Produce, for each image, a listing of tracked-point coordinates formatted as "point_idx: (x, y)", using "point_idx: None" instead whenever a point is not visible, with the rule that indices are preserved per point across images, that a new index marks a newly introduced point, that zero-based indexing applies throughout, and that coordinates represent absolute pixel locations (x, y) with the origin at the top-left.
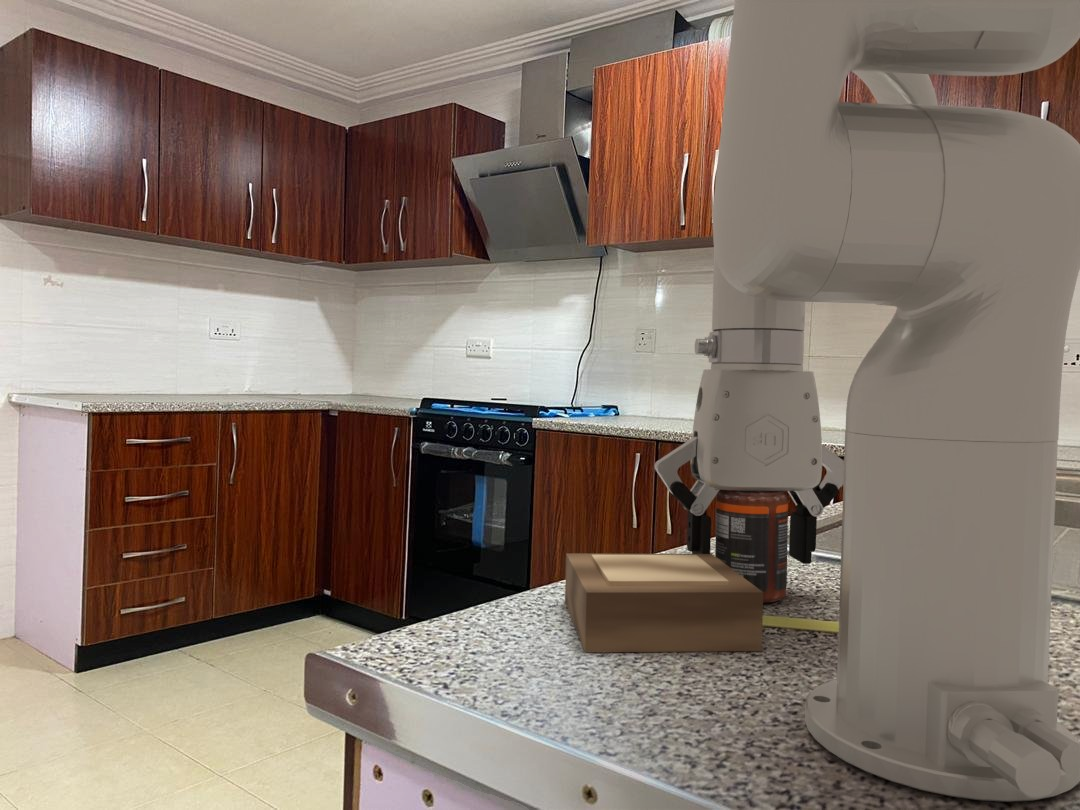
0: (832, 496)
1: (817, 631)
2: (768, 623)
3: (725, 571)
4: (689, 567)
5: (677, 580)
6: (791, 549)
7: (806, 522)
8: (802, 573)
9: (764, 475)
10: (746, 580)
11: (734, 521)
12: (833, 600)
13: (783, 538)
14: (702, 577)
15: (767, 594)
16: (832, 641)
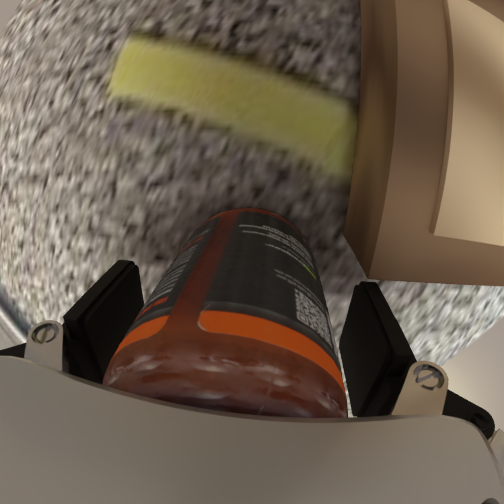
0: (1, 354)
1: (219, 48)
2: (290, 94)
3: (419, 88)
4: (492, 112)
5: None
6: None
7: (84, 312)
8: None
9: (183, 471)
10: (398, 3)
11: (324, 329)
12: (116, 229)
13: (165, 279)
14: (485, 31)
15: (239, 211)
16: (220, 4)
